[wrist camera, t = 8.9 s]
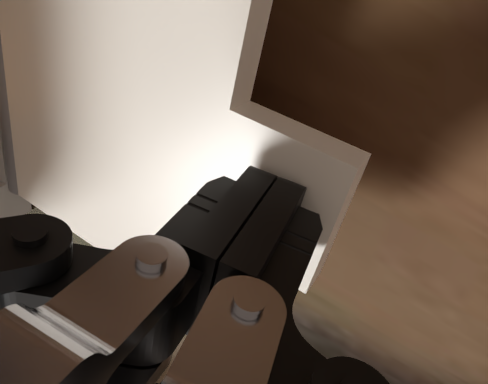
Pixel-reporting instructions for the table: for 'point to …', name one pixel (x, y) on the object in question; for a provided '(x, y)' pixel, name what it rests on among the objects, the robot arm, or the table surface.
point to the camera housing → (9, 193)
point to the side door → (151, 115)
